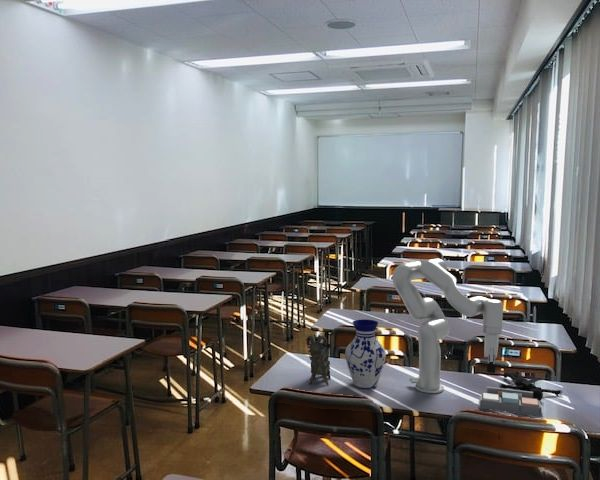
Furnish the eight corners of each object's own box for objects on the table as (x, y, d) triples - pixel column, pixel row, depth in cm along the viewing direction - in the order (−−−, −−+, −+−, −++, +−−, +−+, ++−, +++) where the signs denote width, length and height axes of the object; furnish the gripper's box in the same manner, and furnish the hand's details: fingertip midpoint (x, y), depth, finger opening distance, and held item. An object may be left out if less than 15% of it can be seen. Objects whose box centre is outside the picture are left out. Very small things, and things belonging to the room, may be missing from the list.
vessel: (305, 391, 233) (302, 338, 233) (313, 376, 258) (311, 328, 257) (328, 391, 231) (326, 337, 231) (334, 376, 256) (332, 327, 256)
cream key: (483, 404, 213) (483, 398, 213) (483, 399, 219) (483, 392, 218) (498, 406, 211) (498, 399, 211) (498, 401, 217) (498, 394, 216)
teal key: (502, 404, 210) (502, 397, 210) (502, 399, 216) (502, 392, 216) (518, 406, 208) (518, 399, 208) (517, 400, 214) (517, 393, 214)
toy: (479, 378, 247) (505, 400, 217) (481, 363, 246) (507, 383, 216) (537, 385, 248) (571, 408, 218) (539, 370, 247) (573, 391, 217)
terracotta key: (522, 409, 208) (522, 402, 208) (521, 404, 213) (521, 397, 213) (538, 411, 206) (538, 404, 205) (537, 406, 211) (537, 399, 211)
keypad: (479, 408, 213) (479, 394, 212) (479, 398, 223) (480, 385, 223) (542, 416, 204) (542, 402, 204) (540, 405, 215) (540, 392, 214)
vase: (386, 393, 230) (386, 328, 227) (344, 391, 232) (344, 327, 230) (384, 378, 249) (385, 318, 246) (345, 377, 251) (345, 317, 248)
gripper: (483, 324, 220) (481, 365, 222) (482, 333, 206) (481, 376, 208) (501, 325, 218) (500, 367, 220) (502, 334, 204) (500, 379, 206)
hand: (490, 371), depth 214 cm, fingers closed
